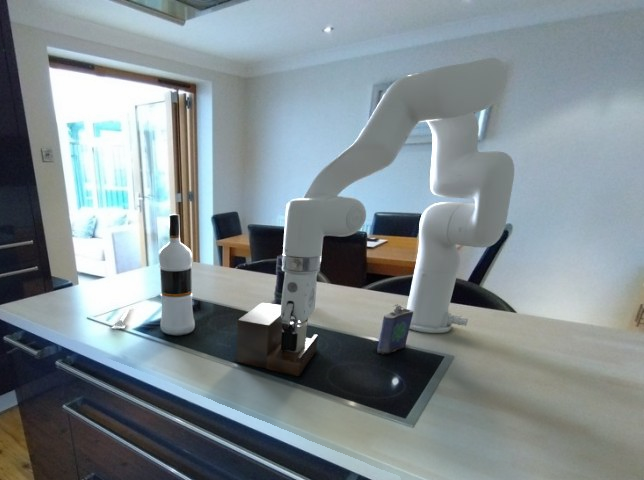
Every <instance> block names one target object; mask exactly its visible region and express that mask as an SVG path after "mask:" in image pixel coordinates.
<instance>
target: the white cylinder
mask: <svg viewBox="0 0 644 480" xmlns="http://www.w3.org/2000/svg"><path fill="white" fill-rule="evenodd" d="M292 319H295V317H293V318H292ZM307 322H308V321H307ZM307 322H306V321H304V322H300V321H299V322H298V326H297V331H296V333H297V334H298V336H297V347H296V351H295V352H301V351H302V350H303V348H304V347H305V343H306V338H307V334H308V325H307ZM290 324H292V326H294V322H290ZM306 333H307V334H306ZM286 351H288V350H286ZM289 352H293V351H289Z"/></svg>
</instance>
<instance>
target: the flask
mask: <svg viewBox="0 0 644 480" xmlns="http://www.w3.org/2000/svg"><path fill="white" fill-rule="evenodd" d="M392 307H393V308H394V307H395V308H394V309H393V311H391V312H389V313H386V314H384V315H383V318H382V324H381V328H380V329H381V331H380V334H379V340H378V344H377V349H376V350H377V353H378V354H382V355H385V354H386V355H387V354H390V353H392V352H396V351H397V350H400V349H403V348H406V345H407V340H408V336H409V332H410V329H409V328H410V324H411V320H412V316H413V311H412V310H409V309H407V308H404V307H403V306H401V305H400V304H397V303H396V304H394V305H393V306H392Z"/></svg>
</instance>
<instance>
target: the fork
mask: <svg viewBox="0 0 644 480" xmlns="http://www.w3.org/2000/svg"><path fill="white" fill-rule="evenodd" d="M131 309H132V307H131V306H128V308H127V309H126V310H125V312H124V313H123V315H121V317H120V319H118V321H117V322H115V324H114V325H113V326H110V329H125V328H126V324H125V322H124V321H125V319H126V318H127V316H128V314H129V313H130V311H131Z"/></svg>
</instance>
